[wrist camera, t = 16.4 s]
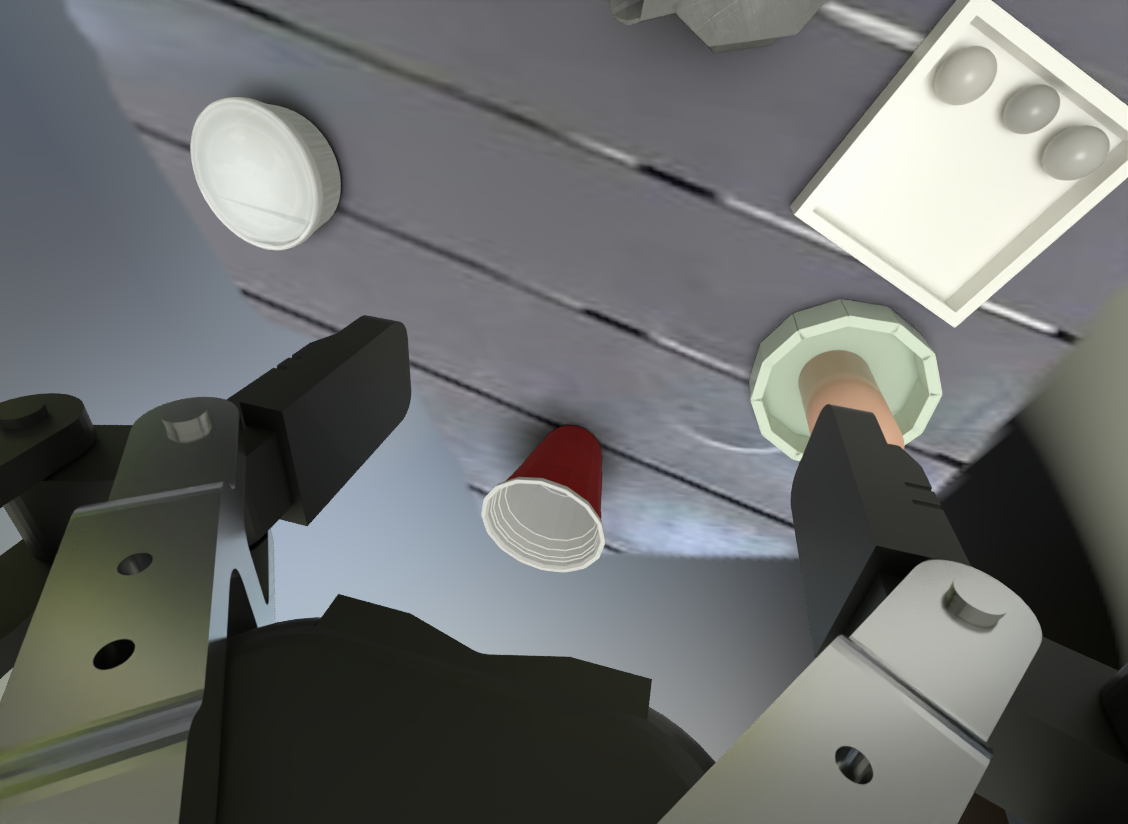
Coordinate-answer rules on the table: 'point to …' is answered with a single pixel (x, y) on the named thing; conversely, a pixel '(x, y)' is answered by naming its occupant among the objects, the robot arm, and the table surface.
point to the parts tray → (969, 162)
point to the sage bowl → (851, 327)
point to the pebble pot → (845, 390)
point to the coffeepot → (725, 18)
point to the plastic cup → (551, 504)
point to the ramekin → (264, 171)
